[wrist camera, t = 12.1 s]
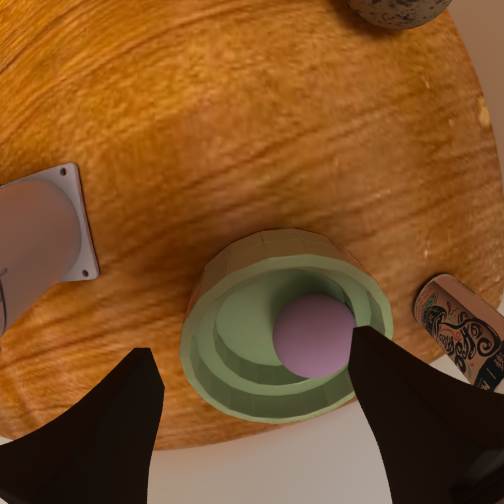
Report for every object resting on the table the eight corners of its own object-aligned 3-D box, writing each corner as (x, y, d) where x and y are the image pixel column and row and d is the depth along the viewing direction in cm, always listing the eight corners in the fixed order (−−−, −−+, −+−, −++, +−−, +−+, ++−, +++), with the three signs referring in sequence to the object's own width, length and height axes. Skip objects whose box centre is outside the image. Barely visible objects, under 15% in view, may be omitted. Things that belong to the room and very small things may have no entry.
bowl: (207, 381, 22) (203, 428, 17) (176, 236, 18) (155, 269, 13) (354, 362, 22) (375, 405, 17) (367, 218, 18) (406, 243, 13)
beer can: (412, 279, 20) (514, 380, 8) (457, 265, 20) (558, 344, 8) (409, 329, 21) (484, 432, 10) (451, 313, 21) (531, 398, 10)
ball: (257, 369, 18) (319, 408, 14) (250, 302, 16) (325, 339, 13) (309, 333, 21) (367, 361, 18) (309, 271, 19) (378, 294, 16)
